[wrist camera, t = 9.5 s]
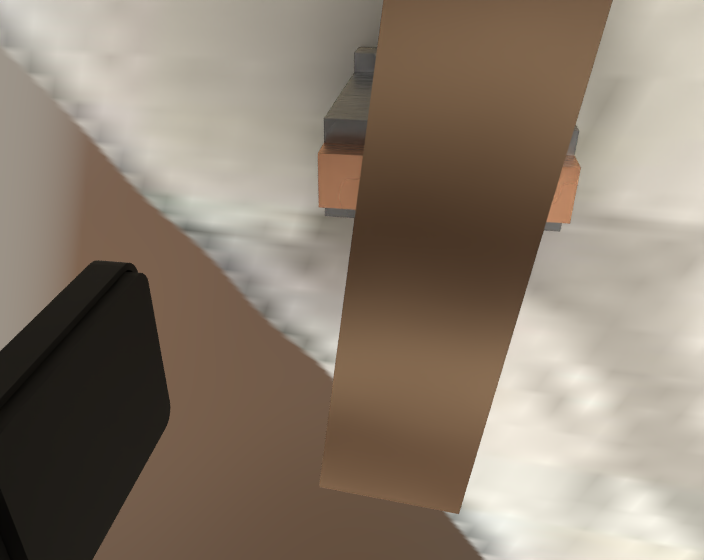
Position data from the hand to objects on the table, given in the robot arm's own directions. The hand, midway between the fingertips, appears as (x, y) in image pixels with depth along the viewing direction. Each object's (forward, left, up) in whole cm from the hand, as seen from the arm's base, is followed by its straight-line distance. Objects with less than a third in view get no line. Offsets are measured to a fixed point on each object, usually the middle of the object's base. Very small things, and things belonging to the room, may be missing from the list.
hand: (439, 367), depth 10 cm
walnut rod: (0, 0, -9) cm, 9 cm away
